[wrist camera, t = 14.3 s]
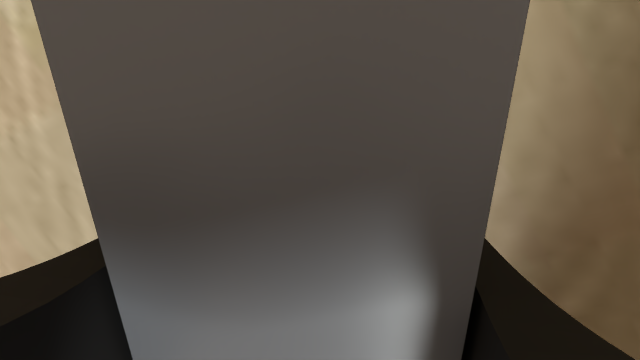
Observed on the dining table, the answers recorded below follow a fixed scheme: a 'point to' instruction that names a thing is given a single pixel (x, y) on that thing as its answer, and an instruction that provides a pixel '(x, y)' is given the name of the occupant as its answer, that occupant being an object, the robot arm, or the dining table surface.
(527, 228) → the dining table surface
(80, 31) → the grey rectangular block
